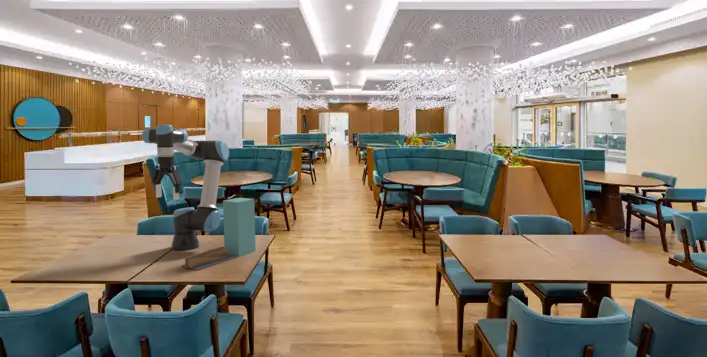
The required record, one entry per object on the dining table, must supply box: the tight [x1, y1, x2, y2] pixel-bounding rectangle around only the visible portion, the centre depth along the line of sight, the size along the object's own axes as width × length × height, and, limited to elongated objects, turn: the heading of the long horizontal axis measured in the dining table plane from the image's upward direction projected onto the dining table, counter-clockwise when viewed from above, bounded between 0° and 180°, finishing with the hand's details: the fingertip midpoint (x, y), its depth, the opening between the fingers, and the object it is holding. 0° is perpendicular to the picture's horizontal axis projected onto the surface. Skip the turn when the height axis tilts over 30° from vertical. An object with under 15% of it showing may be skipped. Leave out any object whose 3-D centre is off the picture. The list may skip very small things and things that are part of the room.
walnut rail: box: [184, 246, 229, 269], centre depth 229 cm, size 4×24×5 cm, turn 149°
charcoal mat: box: [181, 254, 238, 271], centre depth 231 cm, size 12×26×1 cm, turn 149°
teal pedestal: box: [222, 197, 257, 257], centre depth 248 cm, size 11×13×30 cm
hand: (167, 198), depth 221 cm, fingers open, 13 cm apart
